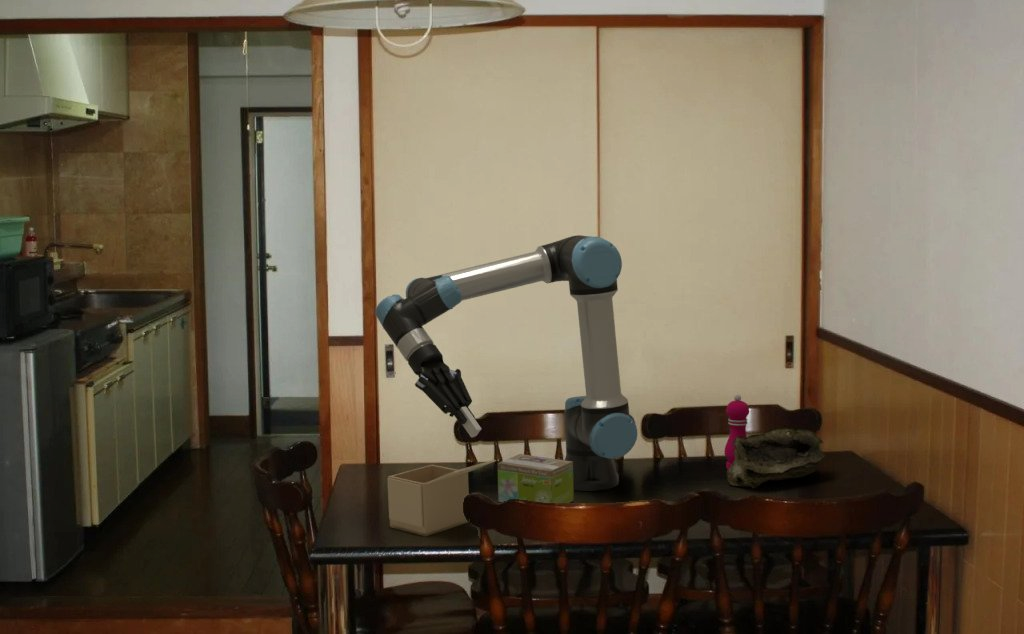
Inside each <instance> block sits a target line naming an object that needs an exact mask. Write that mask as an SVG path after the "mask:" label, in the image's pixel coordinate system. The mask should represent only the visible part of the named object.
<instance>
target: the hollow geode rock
mask: <svg viewBox="0 0 1024 634" xmlns="http://www.w3.org/2000/svg"><path fill="white" fill-rule="evenodd" d="M822 444H824V441H823V440H822V439H821V438H820V436H818V435H817V434H816V433H815V432H814V431H812V430H810V429H809V430H808V429H803V428H797V429H795V428H791V427H787V426H786V427H783V426H782V427H775V428H773V429H772V428H771V429H770V430H767V431H765V432H764V433H759V434H751V435H748V436H747V437H742V436H738V437H736V438H735V440H734V442H733V443H732V446H735V448H734V452H733V453H734V455H735V460H734V462H733V464H732V465H731V466H730V468H729V469H727V470H726V477H727V482H728V483H729V484H730V485H732V486H736V487H742V488H745V487H748V488H752V489H755V488H757V487H759V486H760V485H761V484H762V483H766V482H768V481H774V482H777V481H781V480H782V481H784V480H788V479H796V478H798V479H799V478H804V477H806V476H808V475H811V474H812V473H814V472H816V470H817V469H818V467H819V465H820V461H821V460H822V459H823V458H825V456H826V454H827V453H826V452H823V450H822V448H821V446H822Z"/></svg>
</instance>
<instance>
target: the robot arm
mask: <svg viewBox="0 0 1024 634" xmlns="http://www.w3.org/2000/svg"><path fill="white" fill-rule="evenodd" d="M621 257H622V256H621V254H620V251H619V250H618V249H617V247H616V246H615V245H614V244H613V243H612V242H611V241H608V240H606V239H604V238H603V237H600V236H589V235H588V236H587V235H581V234H580V235H579V234H577V235H571V236H568V237H565V238H563V239H559V240H556V241H554V242H549V243H546V244H542V245H539V246H537V247H536V249H535V251H532V252H528V253H524V254H519V255H516V256H511V257H507V258H503V259H500V260H496V261H495V260H494V261H489V262H487V263H482V264H479V265H478V264H477V265H474V266H470V267H465V268H462V269H459V270H458V269H457V270H454V271H450V272H446V273H442V274H438V275H434V276H430V277H418V278H415V279H412V280H411V281H410V282H409V283H408V284H407V287H406V288H405V298H404V297H402V295H400V294H392V295H389V296H388V295H387V296H386V297H385V298H383V299H382V300H381V301H380V302H379V303H378V304H377V305H376V307H375V317H377V320H378V321H379V323H380V325H381V326H382V329H383V330H384V331H385V332H386V334H387V335H388V337H389V338H390V340H391V341H392V342H393V343H394V346H395V347H396V348H397V349H398V351H399V353H400V354H401V355H402V357H403V358H404V359H405V361H406V362H407V364H408V366H409V368H411V370H412V372H413V373H414V375H417V376H418V379H417V380H416V382H415V383H414V386H415V388H417V389H419V390H420V391H422V393H424V394H425V395H426V396H427V397H428V398H429V399H430V400H431V402H432V403H433V404H434V405H436V407H438V409H440V410H441V411H442V413H443V414H444V415H448V413H449V415H448V416H449V417H451V418H453V417H455V419H456V420H457V422H458V423H459V425H462V426H463V428H464V429H465V430H466V431H465V432H467V434H469V436H470V438H475V437H477V436H478V434H479V433H480V432H481V430H482V427H481V426H480V425H479V423H478V422H477V420H476V417H475V415H474V414H473V412H472V411H471V409H470V408H469V407H470V406H471V404H472V402H473V400H472V398H471V395H470V393H469V391H468V389H467V386H466V385H465V383H464V380H463V378H462V371H461V370H460V369H459V368H456V369H455V370H453V369H451V368H450V367H449V365H448V364H446V363H445V362H444V356H443V354H442V353H441V351H440V350H439V348H438V347H437V345H436V344H435V343H434V341H433V339H432V337H430V335H429V334H428V333H427V331H426V329H425V328H424V327H423V326H425V325H427V324H429V323H430V322H432V321H433V320H436V318H438V317H440V316H442V315H443V314H445V313H447V312H449V311H450V310H453V309H454V308H455V307H456V306H457V305H459V304H460V303H461V302H463V301H466V300H471V299H474V298H478V297H483V296H487V295H489V294H495V293H498V292H503V291H506V290H510V289H514V288H515V289H516V288H518V287H519V288H520V287H523V286H526V285H531V284H534V283H538V282H544V283H546V284H552V283H555V282H568V287H569V295H570V297H572V298H573V299H574V300H575V301H576V303H577V304H576V305H577V315H578V325H579V333H580V335H579V337H580V345H581V356H582V364H583V367H582V368H583V375H584V387H585V395H583V396H582V395H581V396H579V395H578V396H572V397H569V398H567V399H566V400H565V402H564V411H563V412H564V425H565V427H564V429H565V457H564V460H565V461H573V490H574V491H577V492H597V491H606V490H610V489H613V488H616V487H617V486H618V485H619V484H620V483H619V482H620V480H619V477H620V476H619V473H618V471H617V469H616V464H615V463H614V462H615V459H619V458H622V457H624V456H626V455H627V454H628V453H629V452H630V451H631V450H632V449H633V448H634V446H635V444H636V442H637V440H638V428H637V424H636V423H635V421H634V419H633V418H632V417H631V416H630V407H629V399H628V398H627V397H626V396H624V395H623V394H622V389H621V380H620V379H621V378H620V376H621V375H620V368H619V365H620V364H619V356H618V347H617V335H616V333H617V332H616V325H615V315H614V314H615V313H614V304H613V297H614V296H615V295H616V293H617V292H618V278H619V276H620V275H621V271H622V266H623V263H622V262H623V261H622V258H621Z"/></svg>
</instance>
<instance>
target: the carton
mask: <svg viewBox="0 0 1024 634" xmlns="http://www.w3.org/2000/svg"><path fill="white" fill-rule="evenodd" d="M456 470H458V469H456V468H451V467H446V466H442V465H436V464H428V465H424V466H421V467H418V468H415V469H410V470H407V471H402V472H399V473H396V474H392V475H389V476H387V480H386V481H387V497H388V498H387V499H388V503H387V505H388V519H389V528H392V529H395V530H399V531H403V532H407V533H412V534H413V535H418V536H422V537H428V536H431V535H434V534H437V533H440V532H443V531H447V530H449V529H453V528H455V527H459V526H461V525H464V524H467V523H469V522H468V521H467V520H466V518H465V516H464V513H463V502H464V498H465V497H466V496H467V495H470V491H469V490H470V489H469V472H468V473H464V474H461V475H457V476H454V477H450V478H447V479H443V480H440V481H437V482H433V483H430V484H426V482H429V481H431V480H434V479H436V478H439V477H441V476H443V475H446V474H448V473H451V472H453V471H456Z"/></svg>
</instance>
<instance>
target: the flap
mask: <svg viewBox="0 0 1024 634" xmlns="http://www.w3.org/2000/svg"><path fill="white" fill-rule="evenodd" d="M494 462H497V461H496V459H492V460H489V461H486V462H481V463H478V464H475V465H474V464H473V465H470V466H468V467H463V468H461V469H457V470H456V471H453V472H451V473H448V474H446V475H443V476H441V477H439V478H436V479H434V480H431V481H429V482H426V484H430V483H433V482H437V481H440V480H443V479H447V478H450V477H454V476H457V475H461V474H464V473H468V474H469V473H470V472H473V471H475V470H479V469H481V468H482V467H485V466H488V465H490V464H493V463H494Z"/></svg>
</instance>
